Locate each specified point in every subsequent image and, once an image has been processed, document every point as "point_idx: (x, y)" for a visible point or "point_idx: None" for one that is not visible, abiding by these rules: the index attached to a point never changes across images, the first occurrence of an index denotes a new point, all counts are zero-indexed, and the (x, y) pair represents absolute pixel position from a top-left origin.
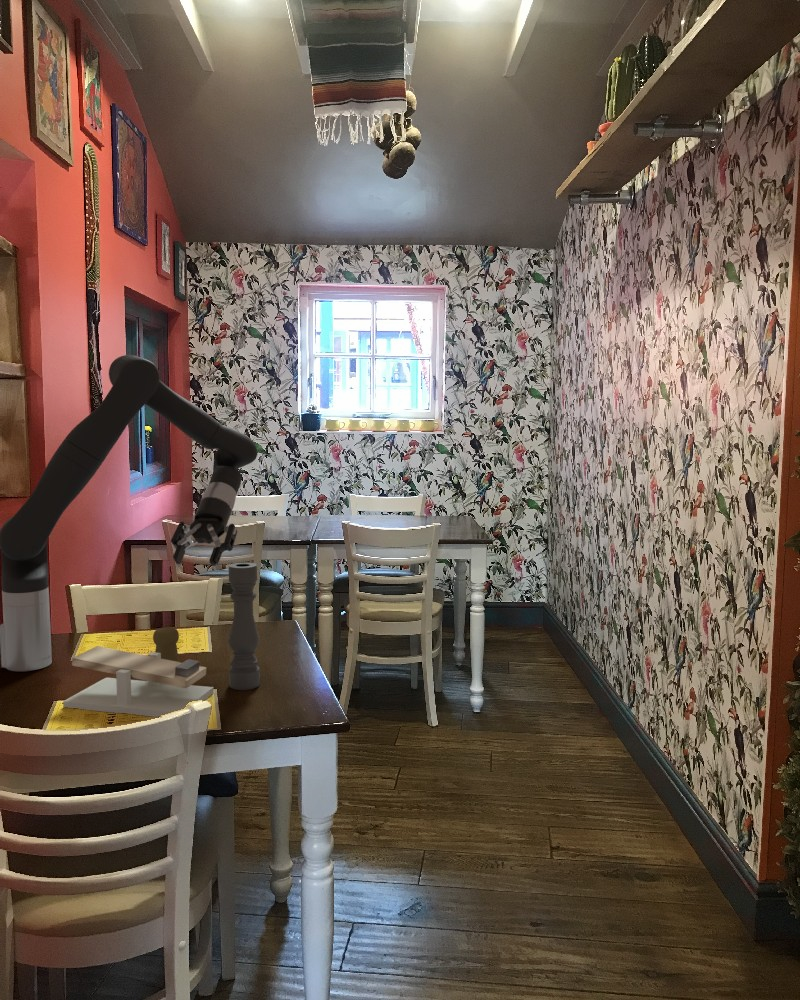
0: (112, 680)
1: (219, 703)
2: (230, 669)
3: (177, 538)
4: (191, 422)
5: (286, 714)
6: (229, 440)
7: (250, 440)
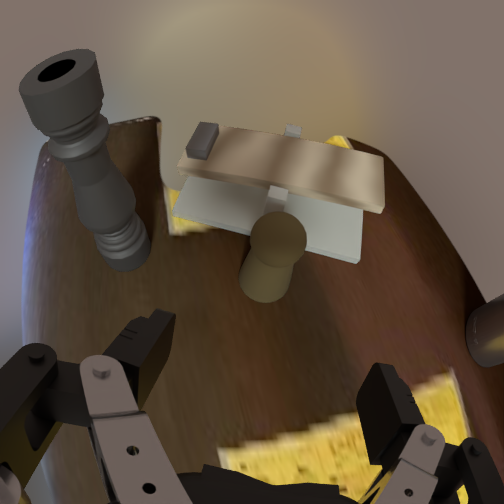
0: (343, 246)
1: (161, 181)
2: (143, 229)
3: (465, 472)
4: None
5: None
6: None
7: None
